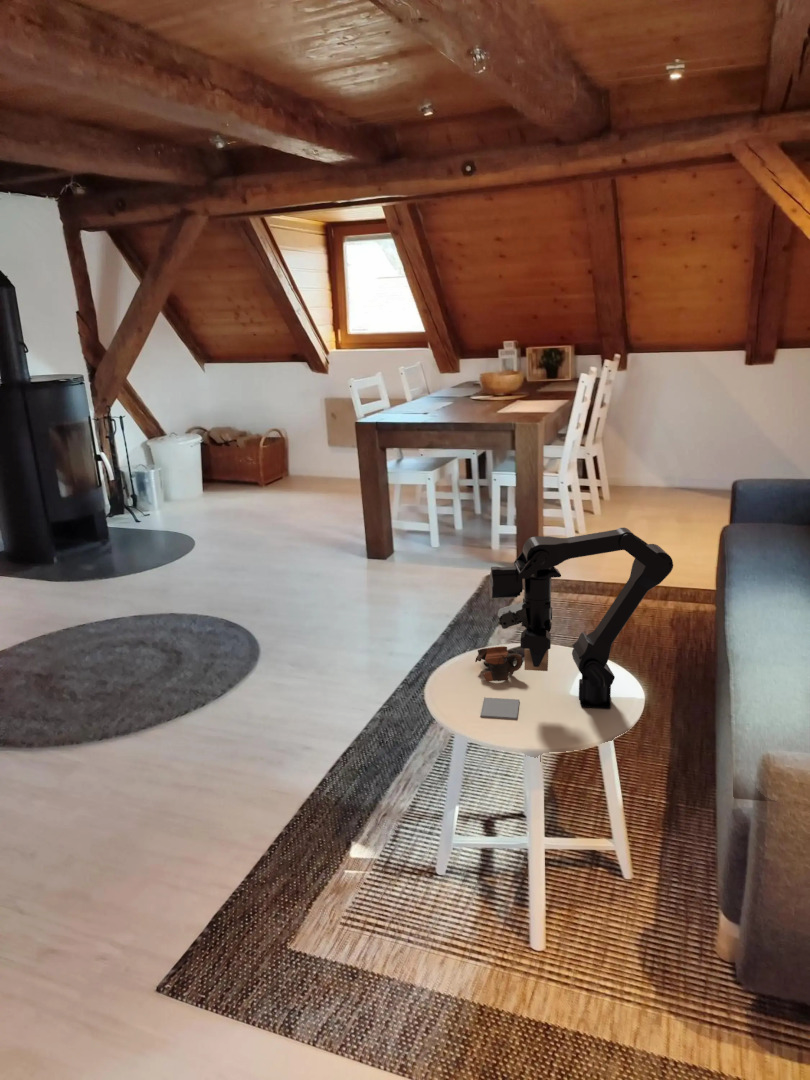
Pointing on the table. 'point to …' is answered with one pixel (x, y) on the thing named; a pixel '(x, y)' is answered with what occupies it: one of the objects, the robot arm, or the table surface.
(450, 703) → the table surface
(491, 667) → the pottery mug
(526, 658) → the walnut block
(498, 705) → the felt coaster
